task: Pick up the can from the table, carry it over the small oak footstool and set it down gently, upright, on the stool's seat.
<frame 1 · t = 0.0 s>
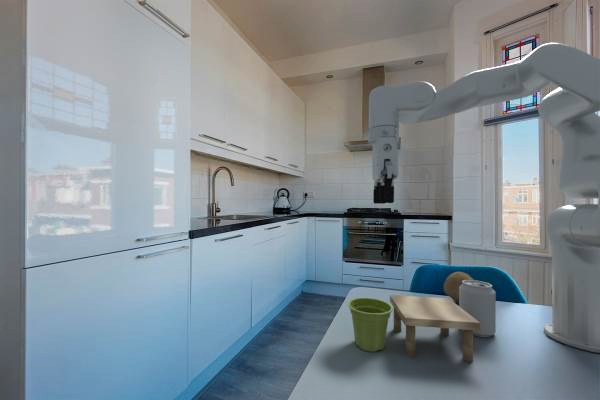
hand: (382, 203, 68), 31 cm above the table, tool pointing down, fingers open, 9 cm apart
plant pot: (369, 345, 58), on the table
stool: (428, 343, 59), on the table
can: (476, 332, 66), on the table
natural sponge: (459, 304, 85), on the table
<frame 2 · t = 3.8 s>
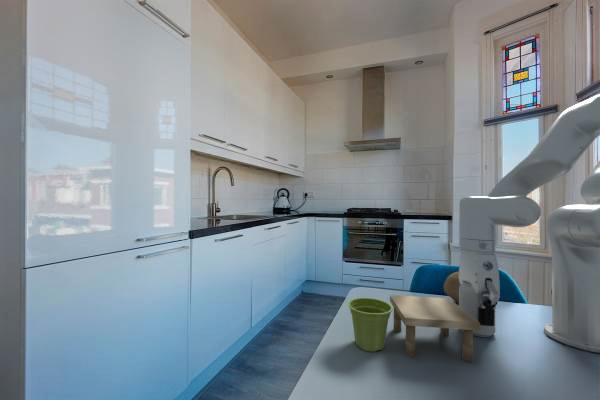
hand: (476, 317, 66), 3 cm above the table, tool pointing down, fingers closed on can, 7 cm apart
can: (476, 332, 66), on the table, touching gripper
everything else where it was.
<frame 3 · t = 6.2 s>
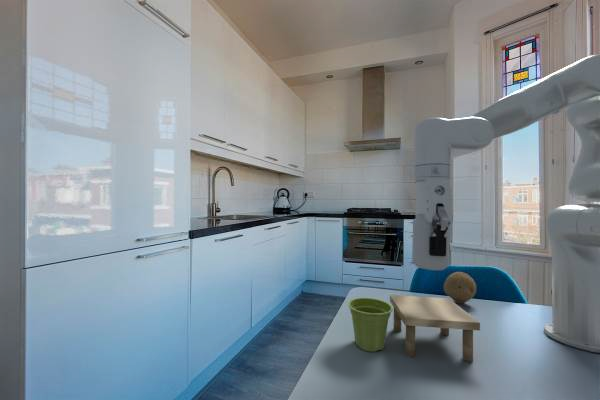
hand: (430, 252, 60), 20 cm above the table, tool pointing down, fingers closed on can, 7 cm apart
can: (430, 268, 60), point 17 cm above the table, touching gripper
everything else where it was.
when the fingers open (12 cm above the table, at t = 8.6 s): can stays where it is, resting on stool.
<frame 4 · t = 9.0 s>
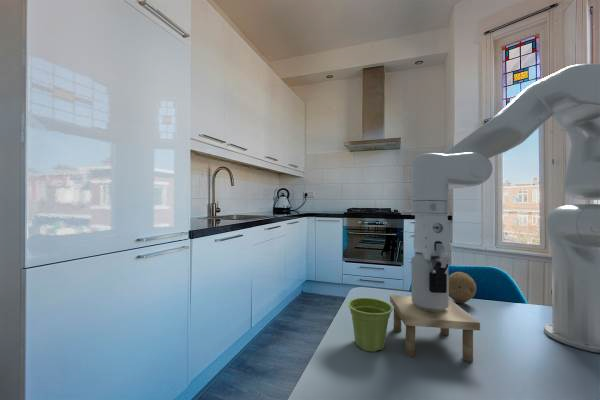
hand: (429, 285, 60), 13 cm above the table, tool pointing down, fingers open, 9 cm apart
can: (429, 307, 60), point 8 cm above the table, touching stool
everything else where it was.
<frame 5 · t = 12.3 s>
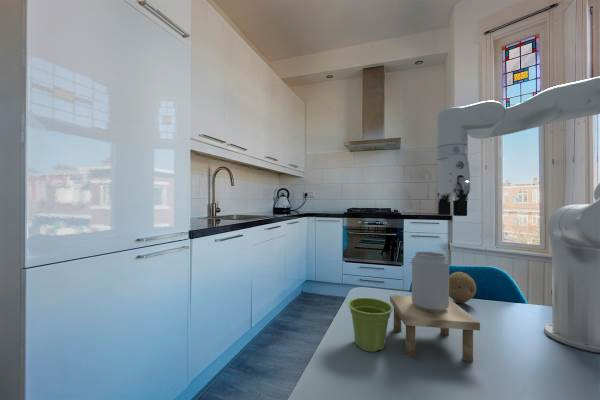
hand: (451, 215, 74), 28 cm above the table, tool pointing down, fingers open, 9 cm apart
nothing on the table moved.
at the end: can inside the target area on the stool (0.1 cm from its centre), point 7.8 cm above the stool's base; can tilted 0°; the gripper is holding nothing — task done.
